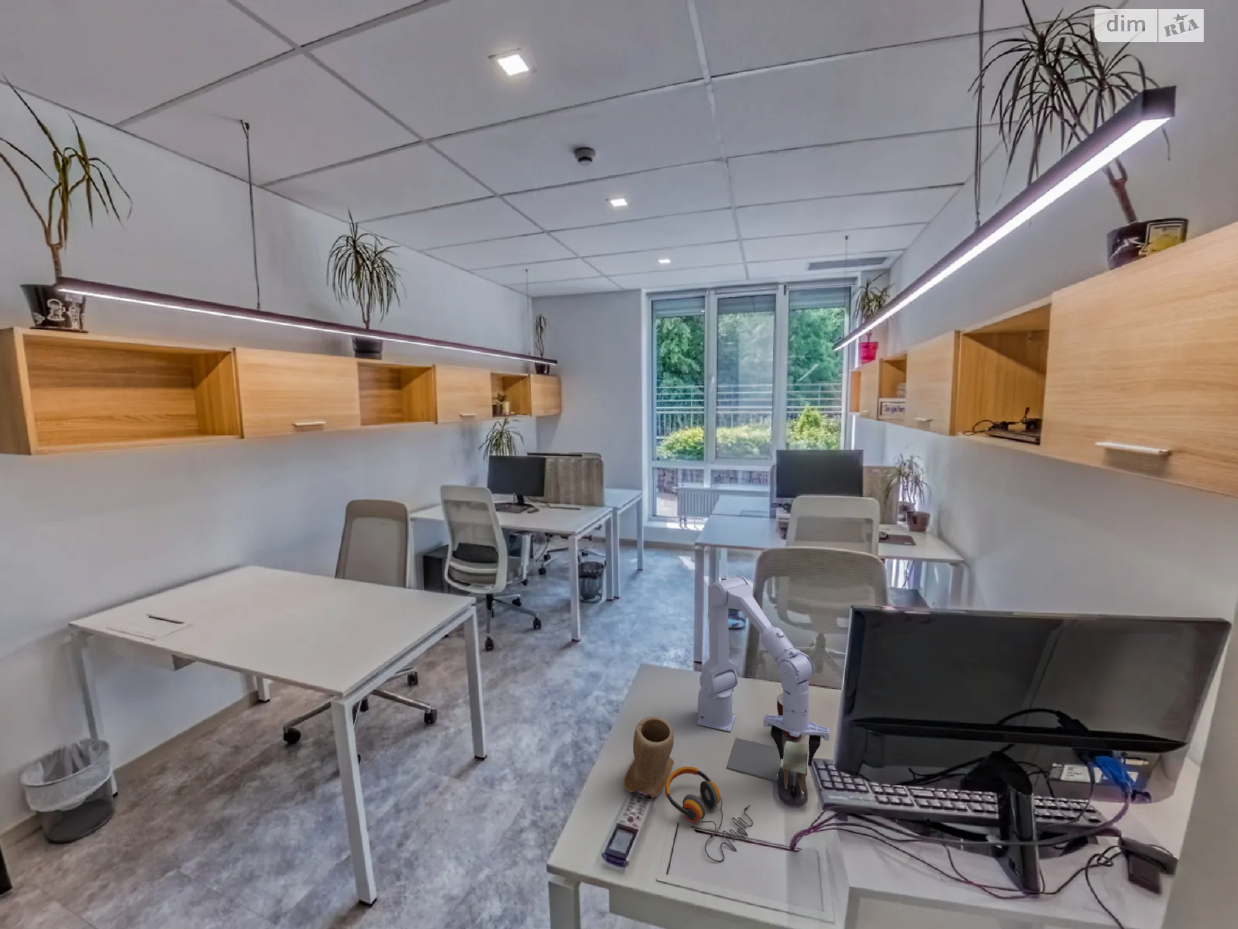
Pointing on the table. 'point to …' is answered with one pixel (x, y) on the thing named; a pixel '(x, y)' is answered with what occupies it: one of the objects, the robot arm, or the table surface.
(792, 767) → the stool
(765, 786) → the table surface
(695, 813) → the headphones
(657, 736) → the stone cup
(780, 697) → the mug
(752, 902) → the table surface
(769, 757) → the mat
